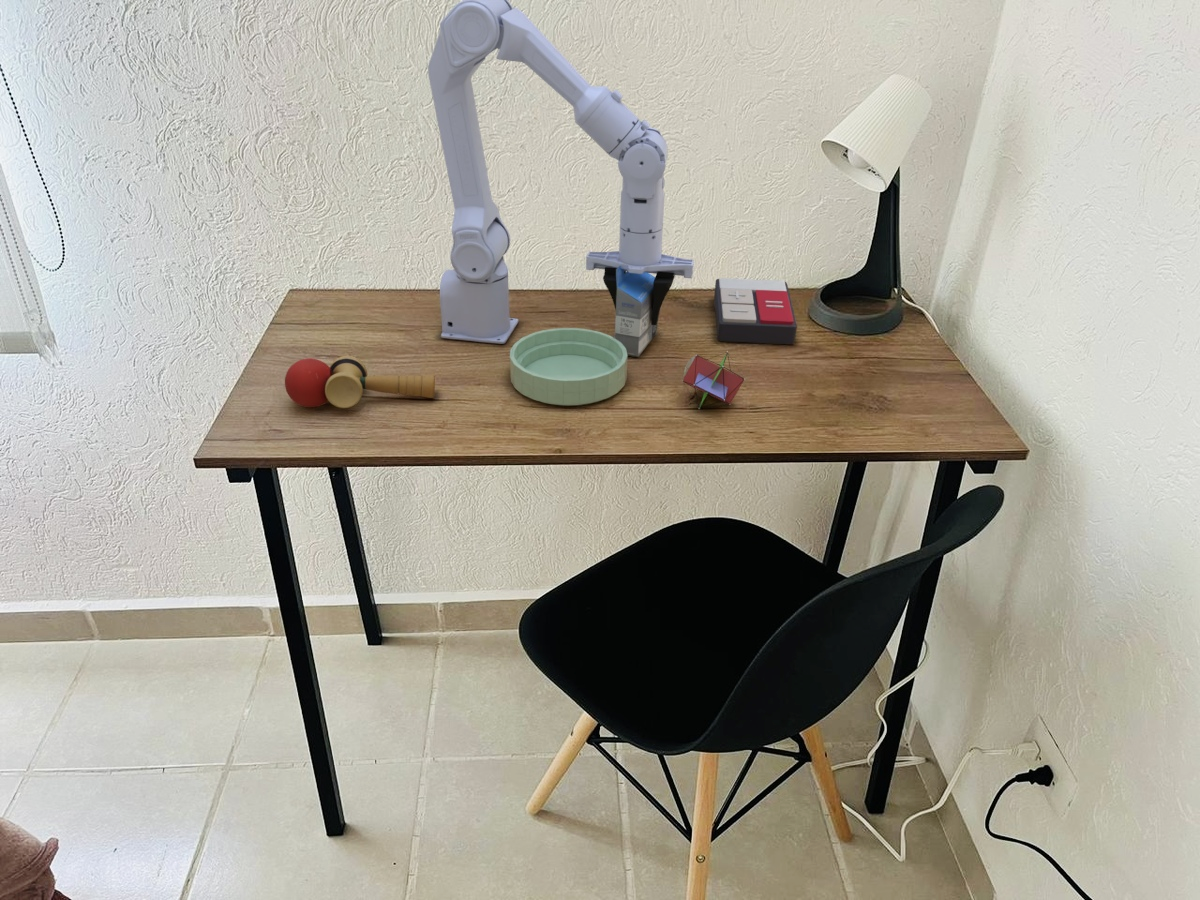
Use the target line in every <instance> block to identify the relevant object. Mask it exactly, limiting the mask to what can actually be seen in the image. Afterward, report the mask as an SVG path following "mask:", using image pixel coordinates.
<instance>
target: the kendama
mask: <svg viewBox="0 0 1200 900" xmlns="http://www.w3.org/2000/svg"><path fill="white" fill-rule="evenodd" d="M284 387H285V391H286V394H287V395H288V397H289V398H290V399H291V400H292V401H293V402H294V403H295V404H297V405H298V406H302V407H305V408H316V407H320V406H323V405H325V404H328V403H330V404H331V405H332V406H334V407H336V408H339V409H349V408H352V407H354V406H356V405H357V404H358V403H360V401H361V399H362V397H363V392H364V390H367V391H373V392H376V393H377V392H378V393H384V394H393V395H402V396H403V395H404V396H414V397H422V398H428V399H434V398H435V391H436V390H435V388H436V375H435V374H423V375H421V374H408V375H405V374H400V375H397V374H391V375H390V374H389V375H387V374H385V375H371V376H368V369H367V367H366V365H365V364H364V362H363V361H362V360H361V359H359V358H358V357H355V356H352V355H341V356H338V357H337V358H336V359H334V360H333V361H332V363H331V364H330V366H329V365H328V364H327V363H326V362H324V361H322V360H319V359H318V358H313V357H312V358H311V357H310V358H303V359H300V360H297V361H296V362H294V363H293V364H291V366H289V367H288V369H287V371H286V374H285V376H284Z"/></svg>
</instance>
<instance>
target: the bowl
mask: <svg viewBox="0 0 1200 900" xmlns="http://www.w3.org/2000/svg"><path fill="white" fill-rule="evenodd" d="M628 357H629V356H628V355H627V350H626V348H625V347H624V345H623V344H622V343H621V342H620V341H618V340H617V339H615V336H614V337H613V336H612V335H609V334H607V333H604V332H602V331H598V330H592V329H589V328H588V329H587V328H579V327H557V328H549V329H543V330H539V331H536V332H532V333H529V334H527V335H525V336H523V337H521V338H520V339H519V340H517V341H516V342H514V343H513V345H512V347H511V348H510V349H509V368H510V369H509V371H510V372H509V373H510V382H511V384H512V386H513V387H514V389H515V390H517V391H518V392H519V393H520V394H521V395H523V396H525V397H527V398H529V399H531V400H534V401H537V402H540V403H544V404H548V405H554V406H564V407H566V406H568V407H569V406H573V407H574V406H583V405H589V404H594V403H597V402H600V401H604V400H607V399H610V398H611V397H613V396H615V395H616V394H618V393H619V392H620V391H621V390H622V389H623V388H624V387H625V385H626V382H627V380H628Z"/></svg>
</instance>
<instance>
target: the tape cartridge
mask: <svg viewBox="0 0 1200 900" xmlns="http://www.w3.org/2000/svg"><path fill="white" fill-rule="evenodd" d="M624 270H625V269H621V266H619V267H618V268H617V269H616V281H617V296H616V310H615V318H614V319H615V320H614V338H615V339H617V340H618V341H620V342H621V343H622V344H623V345H624V347H625V348H626V350H627V355H628V357H632V358H639V357H640V356H641V354H642V353H643V351H645V349H646V347H647V346H648V345H650V343H651V342H652V340H653V338H655V336H656V335H657V334H658V322H659V321H658V322H657V325H652V312H653V301H654V289H653V282H654V279H655V277H656V276H653V275H652V273H642V274H637V273H629V272H628V271H626V273H625V274H624Z"/></svg>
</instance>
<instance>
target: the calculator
mask: <svg viewBox="0 0 1200 900" xmlns="http://www.w3.org/2000/svg"><path fill="white" fill-rule="evenodd" d="M713 295H714V296H713V297H714V298H713V304H714V310H715V322H716V324H715V325H716V336H717V341H718V342H728V343H729V342H730V343H750V344H772V345H794V344H795V341H796V334H797V329H798V325H797V324H798V323H797V321H796V316H795V312H794V307H793V303H792V299H791V294H790V291H789V286H788V282H787V281H785V280H776V279H754V278H732V277H731V278H729V277H720V278H716V280H715V285H714V294H713Z"/></svg>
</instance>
